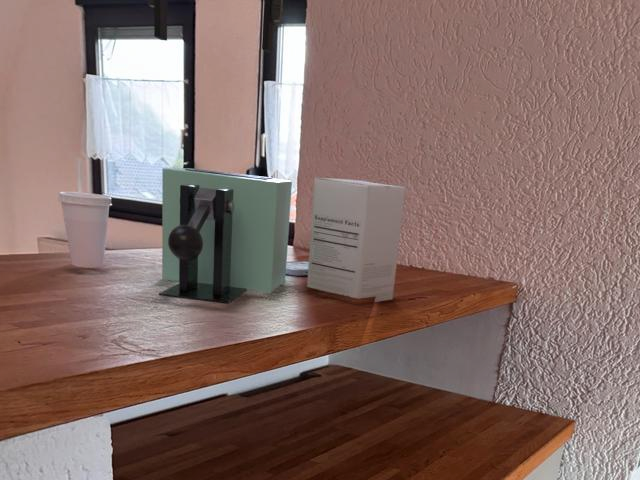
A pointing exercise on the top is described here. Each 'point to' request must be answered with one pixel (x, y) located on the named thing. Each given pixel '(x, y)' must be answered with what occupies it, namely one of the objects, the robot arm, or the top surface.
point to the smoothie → (85, 224)
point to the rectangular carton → (355, 238)
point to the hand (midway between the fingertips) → (213, 45)
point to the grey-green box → (234, 227)
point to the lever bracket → (222, 252)
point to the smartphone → (297, 268)
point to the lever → (193, 227)
